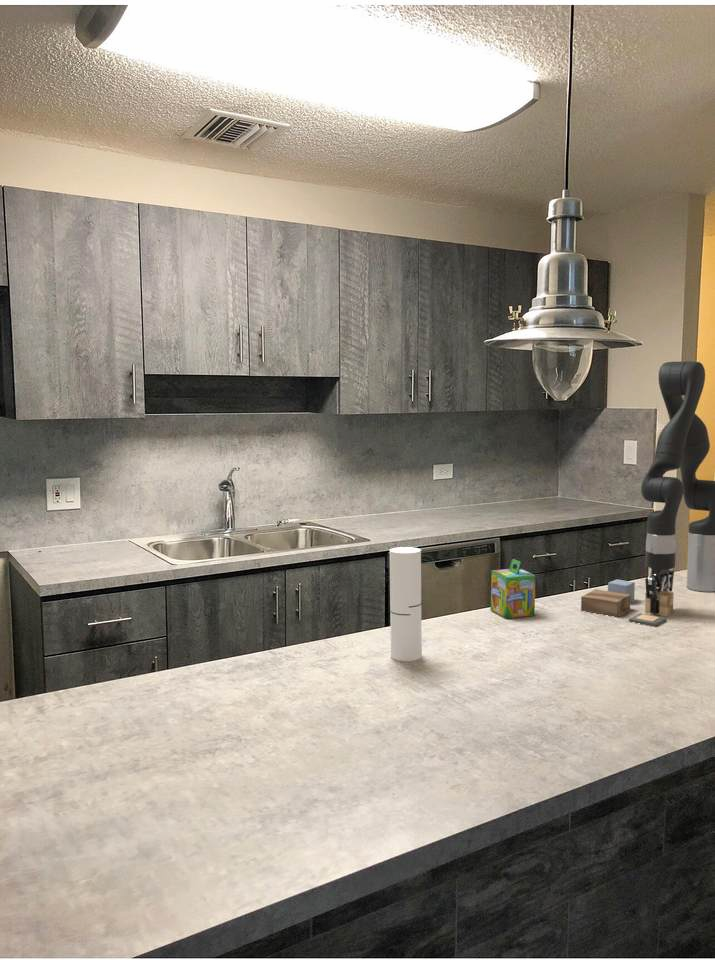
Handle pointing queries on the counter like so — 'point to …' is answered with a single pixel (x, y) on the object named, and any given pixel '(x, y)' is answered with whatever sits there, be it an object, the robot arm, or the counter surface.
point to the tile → (647, 619)
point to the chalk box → (513, 592)
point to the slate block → (622, 587)
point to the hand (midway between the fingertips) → (659, 610)
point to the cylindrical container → (405, 603)
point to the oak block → (662, 604)
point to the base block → (605, 602)
